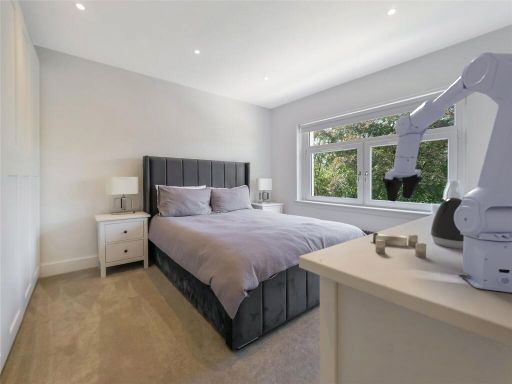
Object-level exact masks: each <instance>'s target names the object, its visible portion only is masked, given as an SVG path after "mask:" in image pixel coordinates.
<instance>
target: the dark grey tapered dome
mask: <svg viewBox="0 0 512 384" xmlns="http://www.w3.org/2000/svg"><path fill="white" fill-rule="evenodd" d="M439 201H440V203H441V204H440V205H439V207H438V208H437V210H436V213H435V215H434V218H433V220H432V224H431V229H430V236H431V237H432V241H433V242H434V243H435V244H436V245H438V246H442V247H446V248H452V249H462V250H463V242H464V235H462V234H460V231H459V230H458V228H457V227H456V225H455V222H454V213H455V211H456V209H457V208H458V207H459V206H460V204H461V202H462V199H461V198H459V197H449V198H446V199H444V198H441V199H439Z"/></svg>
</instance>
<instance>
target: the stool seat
mask: <svg viewBox="0 0 512 384" xmlns="http://www.w3.org/2000/svg"><path fill="white" fill-rule="evenodd" d="M418 237H419V236H418V235H417V234H408V236H407V247H410V248H415V251H414V252H415V253H414V255H415V257H417V258H422V259H425V258H427V244H426V243H423V242H419V241H418V240H419V238H418ZM370 243H371V244H373V245H375V253H376V254H380V255H384V254H386V244H385V241H384V240H376V243H373V241H370Z"/></svg>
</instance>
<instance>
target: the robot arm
mask: <svg viewBox="0 0 512 384" xmlns="http://www.w3.org/2000/svg"><path fill="white" fill-rule="evenodd" d="M475 92H477V93H478V94H479V93H480V94H484V95H486V96H487V97H489V99H491V100H492V101H493V102H494V103H496V104H497V112H496V114H495V119H494V122H493V126H492V130H491V133H490V136H489V141H488V146H487V149H486V152H485V156H484V159H483V164H482V168H481V171H480V174H479V175H480V176H479V177H478V178H479V179H478V182H477V186H476V187H475V188H473V189H472V190H471V191H469V192H467V193H466V194H465V195H463V196H462V199H461V200H462V202H461V204H460V206H459V207H458V208H457V209H456V211H455V213H454V222H455V225H456V227H457V228H458V230H459V231H460V234H462V235H464V242H463V249H462V262H461V263H462V266H461V270H462V272H463V273H465V274H458V275H459V276H460V277H461V278H462V279H464V280H465V281H466V282H467V283H469V284H470V285H472V286H473V288H475V289H481V290H489V291H498V292H505V293H511V294H512V53H505V52H504V53H500V52H498V53H495V52H494V53H493V52H483V53H480V54H479V55H477V56H476V57H474V58H473V59H472V60H471V62H470V63H468V64H466V65H465V66H464V67H463V69H462V71H461V74H460V76H459V78H458V79H456V80H455V82H453V83H452V84H451V85H450V86H449V87H448V88H447V89H446V90H445V91H444V92H442V93H441V94H440V95H439V96H438V97H436V98H429V99H426V100H425V101H423V103H422V104H421V105H420V106H419V107H417V108H416V109H415V110H414V111H412V112H411V113H410V114H406V115H401V116H399V118H398V119H397V121H396V123H395V127H394V130H395V134H396V135H397V142H396V149H395V155H394V156H395V157H394V162H393V168H390V169H389V171H386V172H385V174H384V177H382V181H383V184H384V186H385V190H386V195H387V201H390V202H393V203H394V202H396V201H397V198H398V195H399V191H400V188H401V187H402V198H404V199H411V197H412V196H413V193H414V191H416V187H417V186H418V185H419V184H420V183H421V181H422V180H423V177H421V176H420V175H421V169H417V168H416V166H417V161H418V155H419V149H420V143H421V142H422V141H423V137H424V135H425V133H426V132H427V130H428V129H429V127H430V126H431V125H433V124H434V123H436V122H438V121H439V120H441V119H442V118H443V117H444V116H445V115H446V113H447V109H449V108H451V107H452V106H454V105H455V104H458V102H459V103H460V102H461V101H463V100H464V99H466V98H467V97H469V96H470V95H472V94H474V93H475ZM400 178H401V179H400ZM399 179H400V180H399Z"/></svg>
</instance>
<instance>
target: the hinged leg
mask: <svg viewBox="0 0 512 384" xmlns="http://www.w3.org/2000/svg"><path fill="white" fill-rule="evenodd" d="M372 237H373V238H372V242H373V243H376V240H384V241H385V246H386V245H388V246H398V247H408V236H406V235H396V234H395V235H394V234H383V233H378V232H373V233H372ZM373 243H372V244H373Z"/></svg>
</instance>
